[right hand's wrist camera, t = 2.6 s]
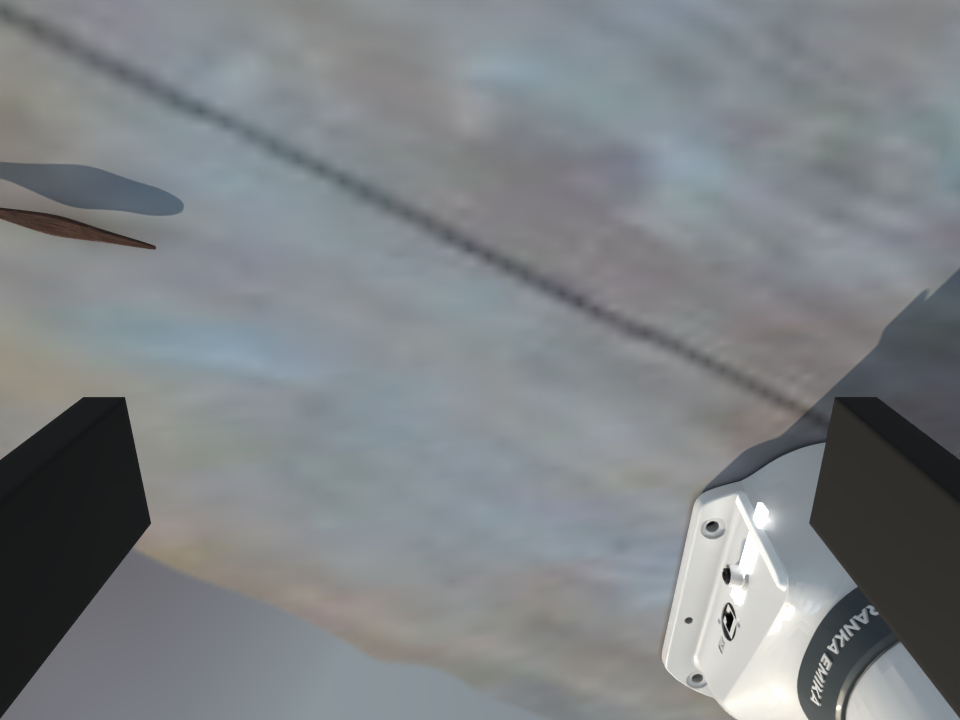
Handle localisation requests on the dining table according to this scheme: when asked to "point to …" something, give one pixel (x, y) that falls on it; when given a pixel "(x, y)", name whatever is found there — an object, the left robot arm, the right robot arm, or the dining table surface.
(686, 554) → the left robot arm
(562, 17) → the dining table surface
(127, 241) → the fork
